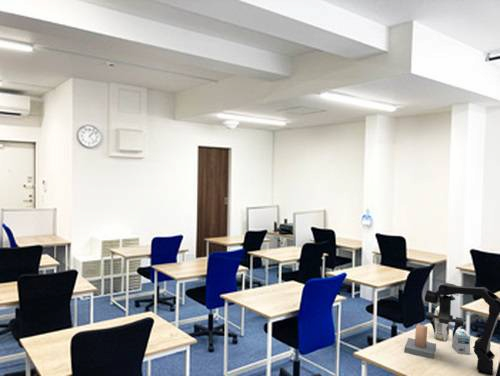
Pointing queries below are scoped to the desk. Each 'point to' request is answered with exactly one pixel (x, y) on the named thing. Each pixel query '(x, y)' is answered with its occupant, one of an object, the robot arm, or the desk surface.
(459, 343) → the light bulb box
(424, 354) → the base block
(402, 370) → the desk surface
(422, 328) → the terracotta cylinder
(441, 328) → the juice carton
